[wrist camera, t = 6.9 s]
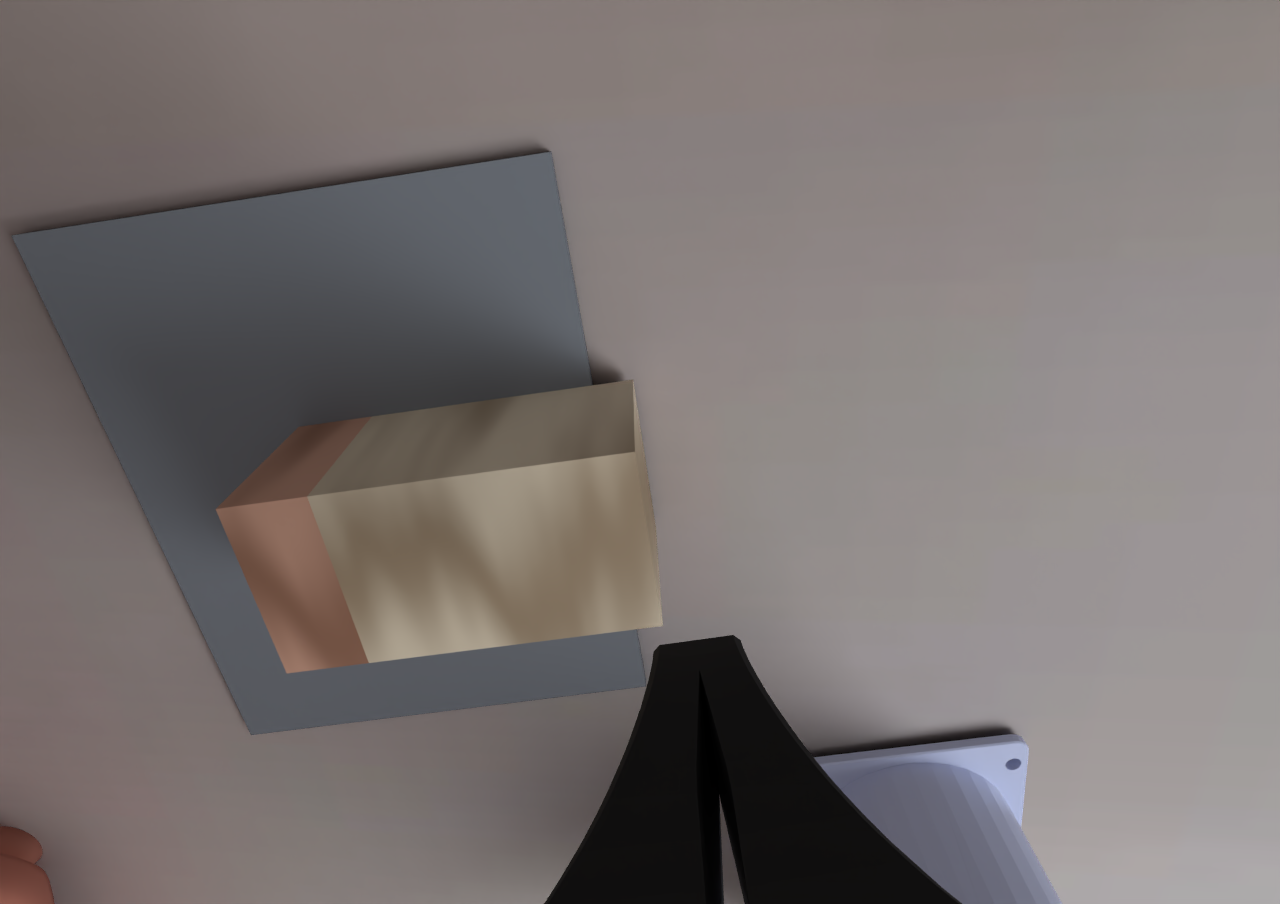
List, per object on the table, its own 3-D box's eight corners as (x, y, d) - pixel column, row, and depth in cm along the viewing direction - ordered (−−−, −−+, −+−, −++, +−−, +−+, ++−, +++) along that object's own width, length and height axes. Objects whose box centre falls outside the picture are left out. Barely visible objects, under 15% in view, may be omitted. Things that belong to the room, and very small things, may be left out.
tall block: (662, 626, 18) (286, 673, 18) (655, 527, 22) (349, 567, 22) (634, 451, 16) (215, 509, 16) (633, 379, 20) (298, 426, 20)
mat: (645, 679, 24) (645, 686, 24) (255, 728, 25) (251, 735, 25) (551, 151, 18) (550, 152, 17) (20, 234, 18) (11, 235, 18)
